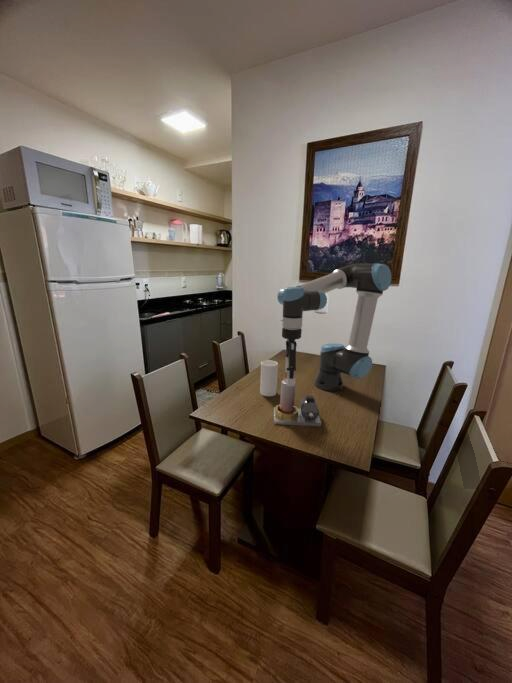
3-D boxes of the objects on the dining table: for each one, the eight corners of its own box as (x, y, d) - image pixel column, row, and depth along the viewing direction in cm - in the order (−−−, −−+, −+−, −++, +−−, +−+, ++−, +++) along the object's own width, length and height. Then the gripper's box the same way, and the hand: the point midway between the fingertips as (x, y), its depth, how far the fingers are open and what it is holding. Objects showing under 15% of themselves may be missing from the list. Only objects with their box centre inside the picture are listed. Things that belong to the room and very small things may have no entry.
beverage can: (278, 410, 120) (280, 378, 116) (291, 410, 120) (294, 378, 116) (280, 418, 114) (282, 384, 110) (294, 417, 114) (297, 384, 110)
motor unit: (316, 412, 122) (318, 391, 119) (321, 427, 111) (323, 404, 108) (273, 410, 123) (274, 389, 120) (274, 425, 111) (275, 402, 109)
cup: (278, 391, 142) (280, 361, 138) (272, 397, 135) (274, 366, 130) (263, 388, 145) (265, 359, 141) (257, 394, 138) (258, 364, 134)
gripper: (280, 320, 119) (279, 367, 125) (283, 335, 95) (281, 391, 101) (298, 321, 119) (295, 367, 125) (305, 336, 95) (302, 392, 101)
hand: (289, 378), depth 113 cm, fingers open, 13 cm apart
